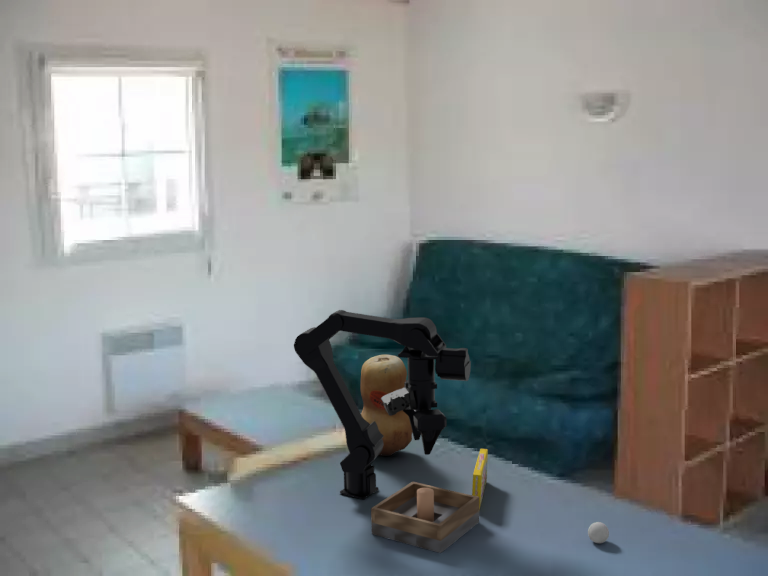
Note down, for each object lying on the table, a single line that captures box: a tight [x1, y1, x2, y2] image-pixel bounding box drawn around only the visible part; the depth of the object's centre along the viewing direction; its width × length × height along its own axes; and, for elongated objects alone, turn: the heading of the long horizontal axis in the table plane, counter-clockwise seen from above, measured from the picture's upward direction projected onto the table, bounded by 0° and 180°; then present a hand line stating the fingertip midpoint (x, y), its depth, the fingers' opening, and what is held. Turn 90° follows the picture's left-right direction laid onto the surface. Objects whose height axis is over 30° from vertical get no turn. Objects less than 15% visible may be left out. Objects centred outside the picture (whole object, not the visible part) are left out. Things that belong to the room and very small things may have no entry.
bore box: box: [370, 481, 480, 554], centre depth 185 cm, size 16×16×6 cm
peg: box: [417, 488, 434, 522], centre depth 185 cm, size 3×3×8 cm
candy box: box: [471, 448, 489, 511], centre depth 200 cm, size 16×2×8 cm, turn 168°
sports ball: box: [587, 521, 610, 544], centre depth 178 cm, size 4×4×4 cm
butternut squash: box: [360, 354, 413, 457], centre depth 225 cm, size 14×13×25 cm
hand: (421, 447), depth 197 cm, fingers open, 9 cm apart
